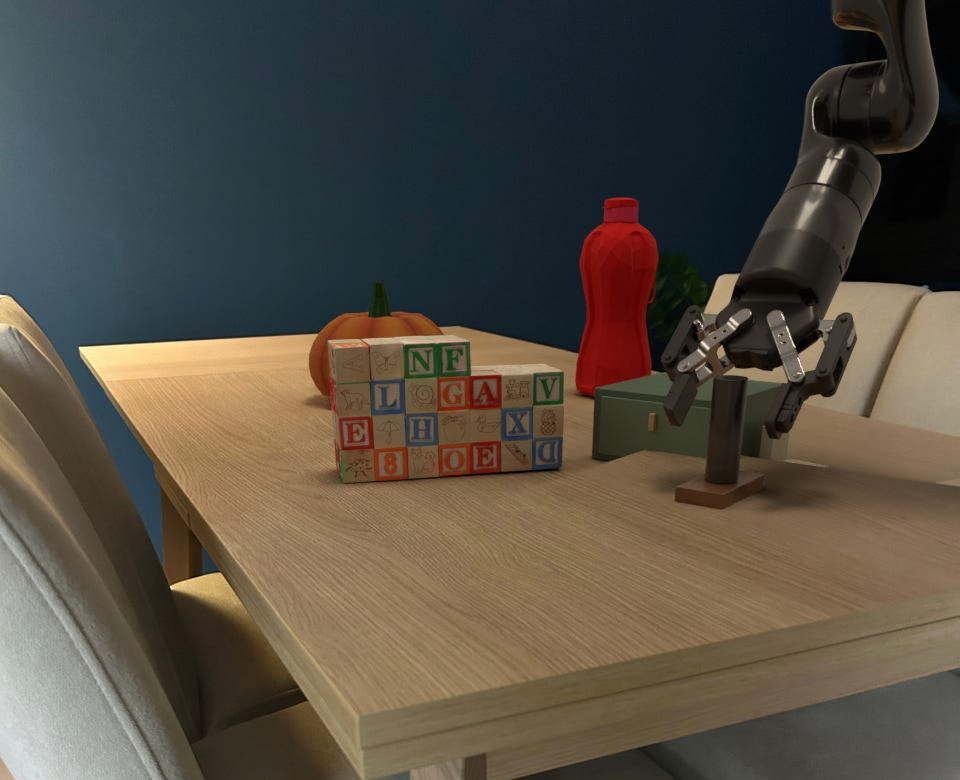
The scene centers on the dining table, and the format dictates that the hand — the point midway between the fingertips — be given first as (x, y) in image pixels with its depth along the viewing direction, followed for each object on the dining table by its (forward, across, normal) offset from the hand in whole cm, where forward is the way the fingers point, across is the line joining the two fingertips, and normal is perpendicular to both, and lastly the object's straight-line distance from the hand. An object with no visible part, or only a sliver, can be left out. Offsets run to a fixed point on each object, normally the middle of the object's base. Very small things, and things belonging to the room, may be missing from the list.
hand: (720, 426), depth 74 cm
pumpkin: (-13, -62, +24) cm, 68 cm away
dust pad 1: (-11, -5, +19) cm, 23 cm away
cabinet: (-9, -13, +20) cm, 25 cm away
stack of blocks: (+5, -28, +6) cm, 29 cm away
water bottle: (-29, -39, +40) cm, 63 cm away
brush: (+4, 0, +6) cm, 8 cm away
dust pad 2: (-8, 0, +17) cm, 19 cm away
